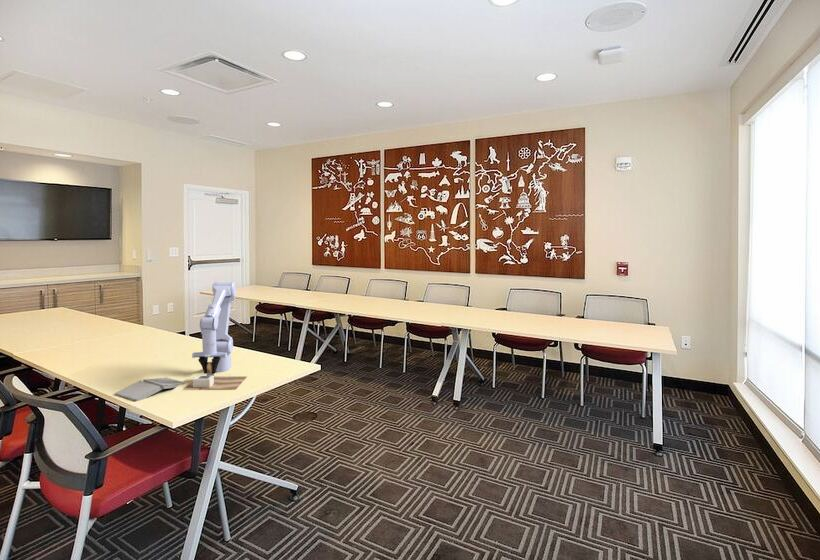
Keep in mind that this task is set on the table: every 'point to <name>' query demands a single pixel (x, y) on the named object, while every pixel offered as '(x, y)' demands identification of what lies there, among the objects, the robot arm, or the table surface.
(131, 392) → the grey bent flat piece
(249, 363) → the table surface
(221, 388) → the subfloor
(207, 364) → the copper and grey cylinder
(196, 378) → the white open box
